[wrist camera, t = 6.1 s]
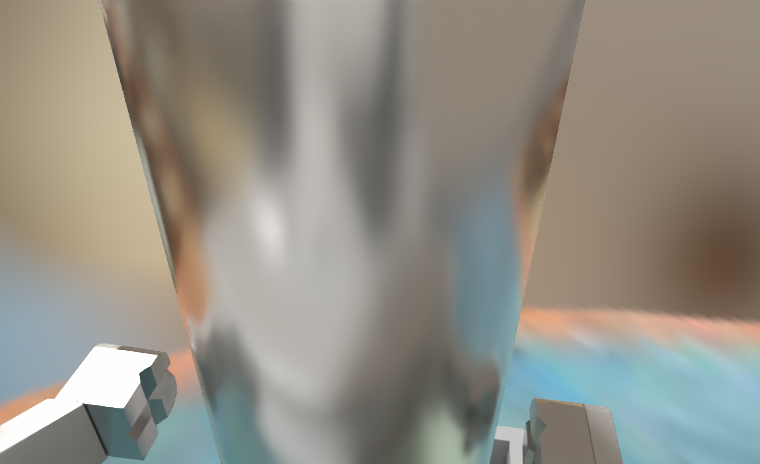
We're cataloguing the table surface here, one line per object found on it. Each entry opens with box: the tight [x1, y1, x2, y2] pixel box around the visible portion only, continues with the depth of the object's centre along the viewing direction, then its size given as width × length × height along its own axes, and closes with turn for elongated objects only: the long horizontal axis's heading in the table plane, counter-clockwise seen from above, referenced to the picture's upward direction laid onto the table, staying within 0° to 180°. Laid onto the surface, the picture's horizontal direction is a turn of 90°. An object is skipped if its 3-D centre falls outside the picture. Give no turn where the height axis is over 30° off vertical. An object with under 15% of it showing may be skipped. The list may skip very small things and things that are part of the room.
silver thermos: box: [99, 0, 585, 464], centre depth 13 cm, size 6×6×25 cm
